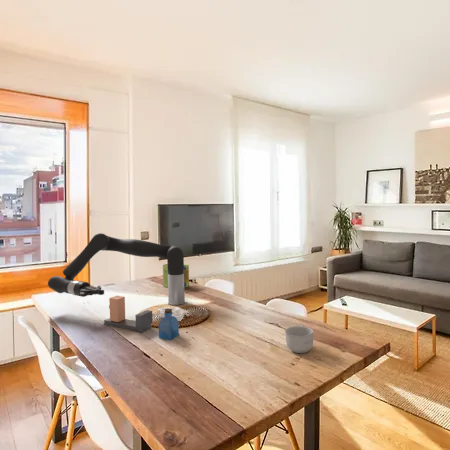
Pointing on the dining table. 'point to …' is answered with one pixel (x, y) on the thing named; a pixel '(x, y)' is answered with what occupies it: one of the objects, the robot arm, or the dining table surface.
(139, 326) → the rail
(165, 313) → the perfume bottle
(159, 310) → the white brass knuckles
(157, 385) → the dining table surface
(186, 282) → the protein box
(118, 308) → the carriage
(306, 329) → the teacup
